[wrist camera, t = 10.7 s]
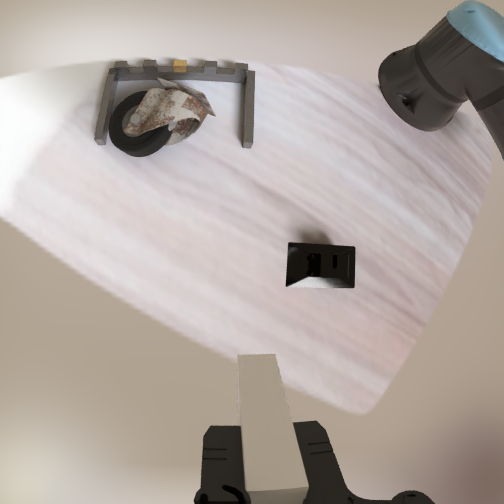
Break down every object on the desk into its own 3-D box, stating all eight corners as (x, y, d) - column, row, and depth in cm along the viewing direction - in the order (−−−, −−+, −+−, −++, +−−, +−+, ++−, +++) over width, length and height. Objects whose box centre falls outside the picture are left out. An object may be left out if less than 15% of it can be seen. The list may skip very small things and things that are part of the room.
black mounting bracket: (363, 241, 43) (380, 239, 39) (361, 295, 43) (378, 297, 38) (275, 235, 41) (285, 232, 37) (273, 293, 41) (282, 297, 36)
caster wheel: (114, 148, 40) (150, 87, 40) (179, 180, 39) (218, 113, 39) (88, 133, 33) (131, 65, 33) (160, 167, 32) (206, 89, 32)
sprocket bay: (252, 78, 41) (257, 64, 37) (250, 148, 40) (255, 138, 37) (112, 75, 38) (107, 62, 34) (98, 145, 37) (90, 135, 34)
